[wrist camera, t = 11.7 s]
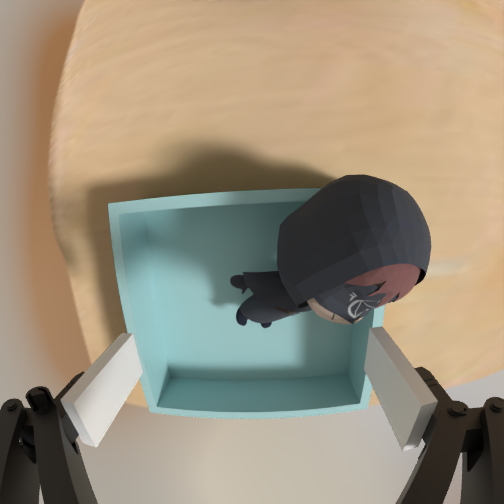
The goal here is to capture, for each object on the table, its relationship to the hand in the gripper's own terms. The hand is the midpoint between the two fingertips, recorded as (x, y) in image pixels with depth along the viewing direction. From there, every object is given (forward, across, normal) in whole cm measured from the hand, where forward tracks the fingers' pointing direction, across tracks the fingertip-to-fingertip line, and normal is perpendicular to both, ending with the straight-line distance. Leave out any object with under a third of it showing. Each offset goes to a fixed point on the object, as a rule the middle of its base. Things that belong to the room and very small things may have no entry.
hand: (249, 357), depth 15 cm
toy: (+8, 0, -1) cm, 8 cm away
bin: (+10, 0, 0) cm, 10 cm away
